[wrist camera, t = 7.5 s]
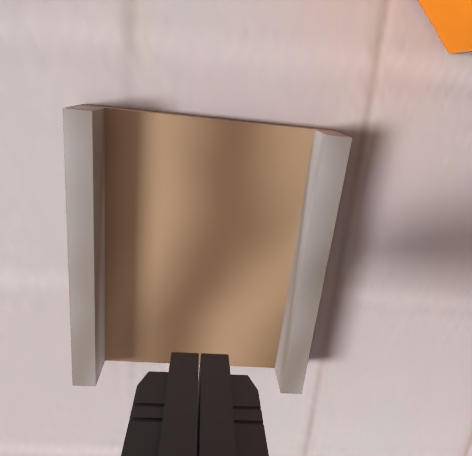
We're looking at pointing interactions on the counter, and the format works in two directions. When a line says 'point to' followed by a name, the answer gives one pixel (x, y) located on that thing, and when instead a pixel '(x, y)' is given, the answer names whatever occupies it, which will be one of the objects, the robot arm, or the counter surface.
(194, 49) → the counter surface
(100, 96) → the counter surface
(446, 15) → the supplement box
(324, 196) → the track
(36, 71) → the counter surface
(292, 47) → the counter surface
